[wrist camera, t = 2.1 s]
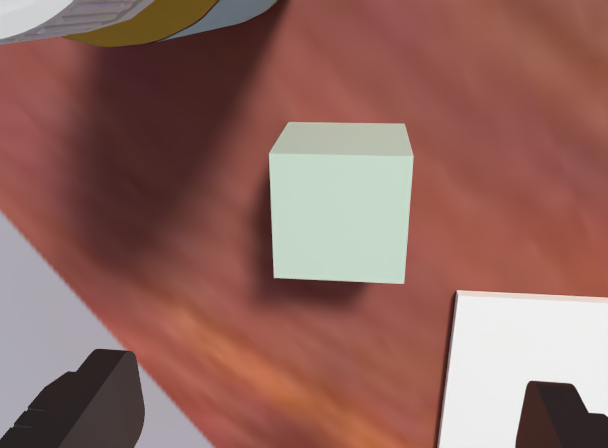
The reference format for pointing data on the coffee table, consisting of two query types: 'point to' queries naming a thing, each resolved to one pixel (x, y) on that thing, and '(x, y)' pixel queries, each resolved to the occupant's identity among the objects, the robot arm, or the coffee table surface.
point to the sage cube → (341, 201)
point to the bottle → (120, 19)
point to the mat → (518, 361)
